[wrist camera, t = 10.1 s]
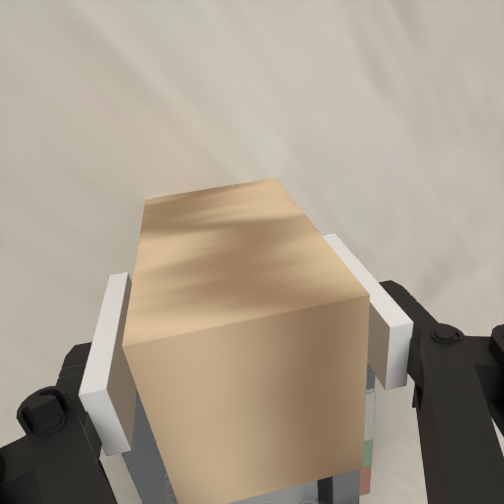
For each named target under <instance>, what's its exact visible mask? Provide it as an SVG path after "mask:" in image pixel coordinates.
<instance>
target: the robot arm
mask: <svg viewBox="0 0 504 504" xmlns="http://www.w3.org/2000/svg"><path fill="white" fill-rule="evenodd" d="M323 238H324V239H325V240H326V241H327V243H328V244H329V245H330V246H331V248H332V249H333V250H334V251H335V252H336V254H337V255H338V256H339V257H340V259H341V260H342V261H343V262H344V264H345V265H346V266H347V267H348V268H349V270H350V271H351V272H352V273H353V275H354V276H355V277H356V278H357V280H358V281H359V282H360V283H361V284H362V286H363V287H364V288H365V289H366V291H367V292H368V293H369V294H370V304H369V330H368V355H367V362H368V364H369V365H370V367H371V368H372V370H373V372H374V373H375V375H376V376H377V378H378V380H379V381H380V383H381V384H382V386H383V388H384V389H385V390H389V389H393V388H397V387H402V386H406V383H407V374H409V375H410V376H411V378H412V379H413V381H414V382H415V387H414V395H413V402H412V407H413V408H415V407H416V412H417V420H418V428H419V436H420V444H421V452H422V460H423V468H424V476H425V484H426V491H427V499H428V504H504V457H503V453H502V450H501V447H500V444H499V441H498V438H497V434H496V431H495V428H494V425H493V422H492V419H493V420H494V422H495V424H496V425H497V427H498V429H499V430H500V432H501V433H502V435H503V437H504V324H503V325H498V326H496V327H495V328H494V329H493V330H492V334H491V337H483V336H465V335H464V334H463V333H462V332H461V331H460V330H458V329H457V328H455V327H453V326H450V325H447V324H442V323H438V322H437V321H436V320H435V319H434V318H433V317H432V316H431V315H430V314H429V313H428V312H427V311H426V310H425V309H424V308H423V307H422V306H421V305H420V304H419V303H418V302H417V301H416V299H415V298H414V297H413V296H411V295H410V293H409V292H408V291H407V290H406V289H405V288H404V287H403V286H401V285H399V284H397V283H395V282H393V281H391V280H389V281H384V282H379V283H378V282H377V281H376V280H375V279H374V277H373V276H372V275H371V274H370V273H369V272H368V271H367V270H366V268H365V267H364V266H363V265H362V264H361V263H360V262H359V261H358V259H357V258H356V257H355V256H354V255H353V254H352V253H351V252H350V250H349V249H348V248H347V247H346V246H345V245H344V244H343V243H342V241H341V240H340V239H339V238H338V237H337V236H336V235H335V234H329V235H324V236H323ZM131 287H132V283H131V280H130V277H129V273H128V272H125V273H120V274H114V275H110V277H109V281H108V285H107V289H106V292H105V296H104V300H103V304H102V308H101V311H100V315H99V319H98V323H97V327H96V330H95V334H94V338H93V342H89V343H84V344H79V345H75V346H74V347H73V348H72V349H71V351H70V352H69V353H68V354H67V355H66V357H65V360H64V363H63V365H62V370H61V371H60V374H59V379H58V380H57V383H56V386H49V387H45V388H43V389H40V390H38V391H36V392H35V393H33V394H31V395H30V396H29V397H27V398H26V399H25V400H24V401H23V402H22V403H21V405H20V407H19V408H18V410H17V417H16V418H17V420H18V421H19V423H20V425H21V426H22V428H23V430H24V431H25V433H26V436H24V437H22V438H20V439H18V440H16V441H14V442H12V443H10V444H8V445H6V446H4V447H2V448H0V504H118V503H117V501H116V498H115V496H114V493H113V491H112V488H111V486H110V483H109V481H108V478H107V476H106V473H105V471H104V468H103V466H102V464H101V462H100V459H99V457H100V452H101V446H102V447H103V450H104V452H105V454H106V456H110V455H114V454H118V453H122V452H127V451H131V447H132V437H133V427H134V416H135V406H136V396H137V387H136V385H135V382H134V379H133V376H132V373H131V371H130V368H129V365H128V362H127V359H126V357H125V354H124V351H123V348H122V342H123V336H124V330H125V324H126V318H127V312H128V306H129V300H130V293H131ZM491 417H492V418H491Z"/></svg>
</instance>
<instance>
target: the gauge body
mask: <svg viewBox="0 0 504 504" xmlns="http://www.w3.org/2000/svg"><path fill="white" fill-rule="evenodd" d="M374 384H375V373H374V372H373V370H372V368H371V367H370V365H369V364H368V362H367V381H366V406H365V432H364V458H363V468H362V469H359V470H355V471H351V472H347V473H343V474H339V475H335V476H332V477H328V478H324V479H320V480H317V488H318V504H359V496H360V495H364V494H368V493H370V477H371V461H372V444H373V427H374V411H375V394H376V393H375V391H374ZM121 454H122V456H123V458H124V461H125V463H126V465H127V468H128V470H129V472H130V475H131V477H132V479H133V482H134V484H135V486H136V488H137V491H138V493H139V495H140V498H141V500H142V502H143V504H178V502H177V499H176V496H175V493H174V491H173V488H172V485H171V482H170V479H169V477H168V474H167V471H166V468H165V465H164V463H163V460H162V457H161V454H160V452H159V449H158V446H157V443H156V440H155V438H154V435H153V432H152V429H151V426H150V424H149V421H148V418H147V415H146V412H145V410H144V407H143V404H142V401H141V398H140V396H139V393H138V390H137V396H136V406H135V416H134V427H133V437H132V447H131V451H127V452H122V453H121Z"/></svg>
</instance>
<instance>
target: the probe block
mask: <svg viewBox="0 0 504 504" xmlns="http://www.w3.org/2000/svg"><path fill="white" fill-rule="evenodd" d="M369 304H370V294H369V293H368V292H367V291H366V289H365V288H364V287H363V286H362V284H361V283H360V282H359V281H358V280H357V278H356V277H355V276H354V275H353V273H352V272H351V271H350V270H349V268H348V267H347V266H346V265H345V264H344V262H343V261H342V260H341V259H340V257H339V256H338V255H337V254H336V252H335V251H334V250H333V249H332V248H331V246H330V245H329V244H328V243H327V241H326V240H325V239H324V238H323V236H322V235H321V234H320V233H319V232H318V230H317V229H316V228H315V227H314V225H313V224H312V223H311V222H310V220H309V219H308V218H307V217H306V216H305V214H304V213H303V212H302V211H301V209H300V208H299V207H298V206H297V204H296V203H295V202H294V201H293V200H292V198H291V197H290V196H289V195H288V193H287V192H286V191H285V190H284V188H283V187H282V186H281V185H280V184H279V182H278V181H277V180H276V179H275V178H271V179H265V180H259V181H253V182H247V183H241V184H235V185H229V186H223V187H217V188H211V189H206V190H200V191H194V192H188V193H182V194H176V195H170V196H164V197H158V198H152V199H146V202H145V208H144V214H143V220H142V226H141V232H140V239H139V245H138V251H137V257H136V263H135V269H134V275H133V281H132V287H131V293H130V300H129V306H128V312H127V318H126V324H125V330H124V336H123V342H122V348H123V351H124V354H125V357H126V359H127V362H128V365H129V368H130V371H131V373H132V376H133V379H134V382H135V385H136V387H137V390H138V393H139V396H140V398H141V401H142V404H143V407H144V410H145V412H146V415H147V418H148V421H149V424H150V426H151V429H152V432H153V435H154V438H155V440H156V443H157V446H158V449H159V452H160V454H161V457H162V460H163V463H164V465H165V468H166V471H167V474H168V477H169V479H170V482H171V485H172V488H173V491H174V493H175V496H176V499H177V502H178V504H227V503H231V502H235V501H239V500H243V499H246V498H250V497H254V496H258V495H262V494H266V493H270V492H274V491H277V490H281V489H285V488H289V487H293V486H297V485H301V484H304V483H308V482H312V481H316V480H320V479H324V478H328V477H332V476H335V475H339V474H343V473H347V472H351V471H355V470H359V469H362V468H363V458H364V432H365V406H366V381H367V355H368V330H369Z"/></svg>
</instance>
